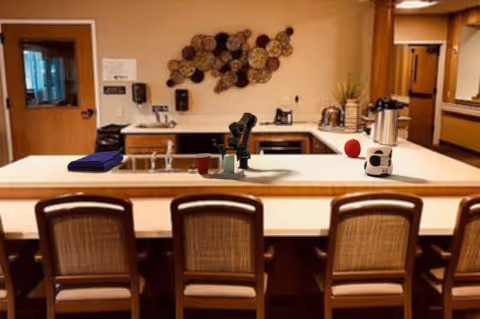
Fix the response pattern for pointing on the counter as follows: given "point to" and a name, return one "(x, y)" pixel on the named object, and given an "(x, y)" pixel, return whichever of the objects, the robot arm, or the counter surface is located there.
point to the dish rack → (221, 174)
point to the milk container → (378, 160)
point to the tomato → (352, 148)
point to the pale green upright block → (229, 163)
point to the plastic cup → (202, 162)
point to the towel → (96, 161)
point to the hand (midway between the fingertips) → (229, 160)
